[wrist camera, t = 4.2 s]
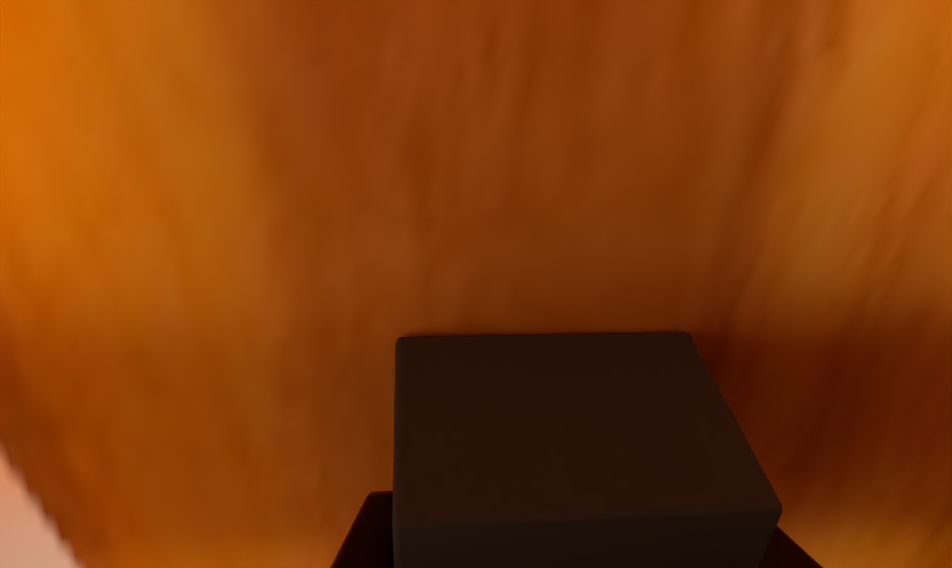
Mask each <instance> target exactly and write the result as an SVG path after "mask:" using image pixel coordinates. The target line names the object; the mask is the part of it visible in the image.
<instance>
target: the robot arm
mask: <svg viewBox="0 0 952 568" xmlns="http://www.w3.org/2000/svg"><path fill="white" fill-rule="evenodd" d="M392 519H393V491H374V492H371V493H369V494H368V496H367V497H366V499H365V501H364V503H363V505H362V506H361V508H360V510H359V512H358V514H357V516H356V518H355V520H354V522H353V524H352V526H351V528H350V530H349V532H348V534H347V536H346V538H345V540H344V542H343V544H342V546H341V548H340V550H339V552H338V554H337V556H336V557H335V559H334V561H333V563H332V565H331V567H330V568H394V555H393V527H392ZM759 568H822V567H821V566H820V565H819V564H818V563H817V562H816V561H815V560H814V559H813V558H811V557H810V556H809V555H808V554H807V553H806V552H805V551H804V550H803V549H802V548H801V547H799V546H798V545H797V544H796V543H795V542H794V541H793V540H792V539H791V538H790V537H789V536H788V535H786V534H785V533H784V532H783V531H782V530H781V529H780V528H779V527H778V526H777V525H776V528H775V530H774V532H773V535H772V537H771V539H770V542H769V544H768V547H767V549H766V551H765V554H764V556H763V558H762V561H761V563H760V565H759Z"/></svg>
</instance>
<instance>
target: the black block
mask: <svg viewBox="0 0 952 568" xmlns="http://www.w3.org/2000/svg"><path fill="white" fill-rule="evenodd" d="M781 514H782V506H781V503H780V501H779V499H778V497H777V495H776V494H775V492H774V490H773V488H772V486H771V484H770V482H769V481H768V479H767V477H766V475H765V473H764V471H763V469H762V468H761V466H760V464H759V462H758V460H757V458H756V456H755V455H754V453H753V451H752V449H751V447H750V445H749V443H748V442H747V440H746V438H745V436H744V434H743V432H742V431H741V429H740V427H739V425H738V423H737V421H736V419H735V418H734V416H733V414H732V412H731V410H730V408H729V406H728V405H727V403H726V401H725V399H724V397H723V395H722V393H721V392H720V390H719V388H718V386H717V384H716V382H715V380H714V379H713V377H712V375H711V373H710V371H709V369H708V367H707V366H706V364H705V362H704V360H703V358H702V356H701V354H700V353H699V351H698V349H697V347H696V345H695V343H694V341H693V340H692V338H691V336H690V335H689V334H688V333H685V332H675V333H618V334H562V335H506V336H449V337H401V338H398V339H397V341H396V343H395V400H394V459H393V519H392V527H393V555H394V568H759V565H760V563H761V561H762V558H763V556H764V554H765V551H766V549H767V547H768V544H769V542H770V539H771V537H772V535H773V532H774V530H775V528H776V525H777V523H778V521H779V518H780V516H781Z"/></svg>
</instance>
